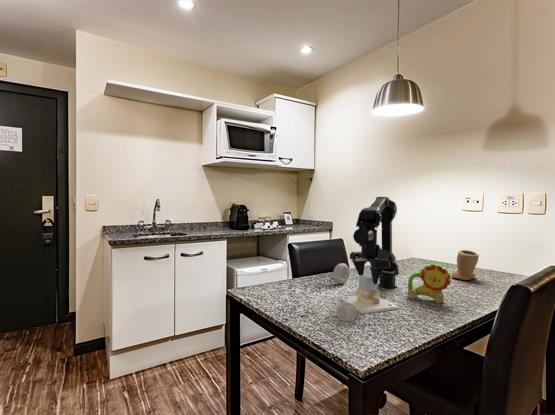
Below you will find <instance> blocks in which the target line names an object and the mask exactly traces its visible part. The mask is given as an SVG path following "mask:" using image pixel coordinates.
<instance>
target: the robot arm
mask: <svg viewBox="0 0 555 415" xmlns="http://www.w3.org/2000/svg"><path fill="white" fill-rule="evenodd" d="M397 211H398V208H397V204H396V202H395V201H393V200H391V199H390V197H388V196H376V198H375V200H374V202H372V203H371V205H370V206H369V207H364V208H362V209H361V210H360V212H359V214H358V217H357V220H356V224H355V226H356V228H357V227H358V228H357V229H356V230H354V232H353V236H352V238H353V241H354V242H355V243H356V244H358V246H359V247H361V248H360V249H361V251H351V252H350V253H349V259H350V260H351V262H352V263H353V265H354V268H355V270H356V272H357V274H358V276H359V275H365V274H364V272H365V266H366V264H367V263H369V265H370V266H369V269H370V275H372V279H373V283H374V284H377V282H378V281H379V283H378V284H377V286H379V287H382V288H384V289H394V288H398V286H397V285H396V276H399V274H400V270H399V265H398V262H397V258H396V256H395V254H394V253H393V221H394V219H395V218H396V214H397ZM380 224H381V246H380V245H379V244H378V228H379V227H380Z"/></svg>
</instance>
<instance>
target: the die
mask: <svg viewBox="0 0 555 415" xmlns="http://www.w3.org/2000/svg"><path fill="white" fill-rule="evenodd" d="M357 312H358V311H357V310H356V307H355V306H354V305H353V304H351V303H346V302H340V303H339V304H338V305H337V308H336V316H337V318H338V319H339V320H340V321H342V322H346V323H347V322H348V323H350V322H354V321H355V319H356V317H357Z"/></svg>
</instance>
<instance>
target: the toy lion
mask: <svg viewBox="0 0 555 415" xmlns="http://www.w3.org/2000/svg"><path fill="white" fill-rule="evenodd" d="M451 277H452V276H451V273H450V272H449V270H448V269H447V268H446V267H443V266H442V265H441V264H436V263H433V262H432V263H430V264H427V265H425V266H424V267H423V268H422V269H421V270H420V271H416V272H414V273H412V274H411V275H410V277H409V279H408V282H407V290H408V291H407V296H408V297H409V298H410V299H413V300H414V299H415V298H417V296H426V297H429V298H431V299H432V300H433V301H434V302H435V303H437V304H441V303H443V302H444V299H445V298H444V297H445V295H444V292H443V290H447V289H448V287H449V286H450V285H451V282H452V280H451ZM415 278H419V279H420V280H421V281H422V282H423V283H422V284H421V285H419V286H417V287H415V286H413V280H414V279H415Z"/></svg>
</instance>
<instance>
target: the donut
mask: <svg viewBox="0 0 555 415" xmlns="http://www.w3.org/2000/svg"><path fill="white" fill-rule="evenodd" d="M341 273H342V275H341ZM350 276H351V273H350V268H349V266H348V265H347V264H346V263H342V262H341V263H337V265H336V266H334V269H333V273H332V277H333V280H334V281H335V282H336V283H337V284H340V285H343V284H345V283H347V281H348V280H349V278H350Z"/></svg>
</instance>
